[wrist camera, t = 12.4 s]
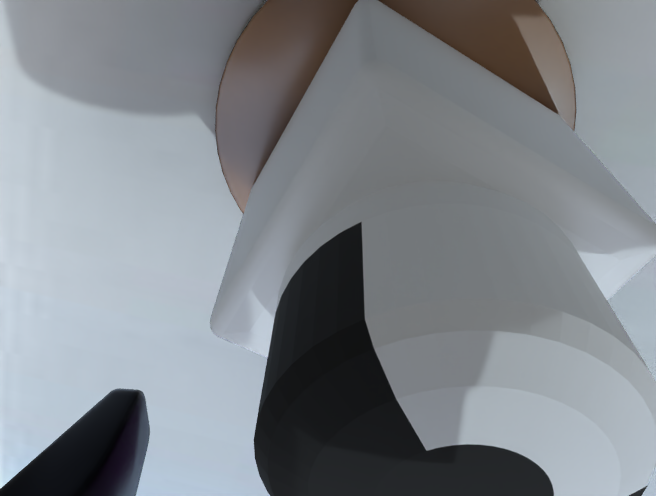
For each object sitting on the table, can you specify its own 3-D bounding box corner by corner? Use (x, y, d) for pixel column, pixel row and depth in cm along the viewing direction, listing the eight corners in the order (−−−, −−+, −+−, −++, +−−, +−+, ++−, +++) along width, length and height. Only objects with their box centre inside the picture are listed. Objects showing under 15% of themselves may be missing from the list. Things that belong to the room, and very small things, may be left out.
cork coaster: (167, -11, 16) (163, -8, 16) (576, -101, 15) (582, -100, 14) (267, 300, 22) (265, 306, 22) (569, 256, 21) (573, 263, 20)
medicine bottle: (428, 283, 21) (501, 667, 11) (248, 192, 19) (133, 547, 9) (566, 117, 17) (865, 450, 7) (362, -12, 16) (384, 188, 6)
